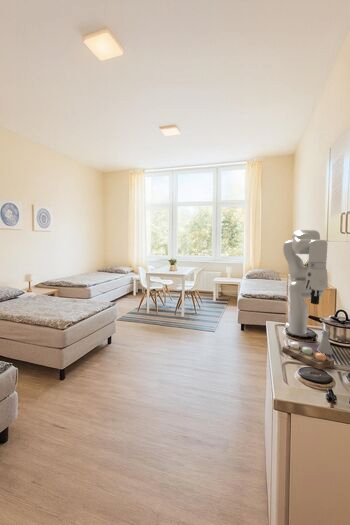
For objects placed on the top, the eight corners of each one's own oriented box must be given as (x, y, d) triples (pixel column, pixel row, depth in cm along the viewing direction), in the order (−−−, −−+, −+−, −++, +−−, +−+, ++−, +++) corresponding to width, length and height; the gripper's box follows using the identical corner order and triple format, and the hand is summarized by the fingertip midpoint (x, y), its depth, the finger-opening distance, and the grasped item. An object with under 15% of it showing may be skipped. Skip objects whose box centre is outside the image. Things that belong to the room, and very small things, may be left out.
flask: (335, 356, 127) (336, 336, 127) (319, 354, 129) (320, 334, 128) (329, 350, 135) (331, 331, 134) (314, 348, 136) (315, 329, 135)
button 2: (300, 354, 126) (300, 347, 126) (306, 352, 127) (306, 346, 127) (307, 357, 122) (307, 350, 122) (313, 356, 124) (313, 349, 124)
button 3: (313, 360, 119) (313, 353, 119) (319, 358, 121) (319, 352, 121) (321, 364, 116) (321, 357, 116) (327, 362, 118) (327, 355, 117)
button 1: (288, 348, 132) (288, 342, 132) (294, 347, 134) (294, 341, 134) (294, 351, 129) (295, 345, 128) (300, 350, 130) (301, 344, 130)
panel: (282, 351, 132) (282, 346, 132) (296, 348, 136) (296, 343, 136) (318, 369, 114) (318, 363, 114) (333, 365, 118) (334, 359, 118)
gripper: (313, 267, 119) (310, 307, 121) (335, 266, 125) (332, 304, 127) (299, 265, 126) (297, 303, 127) (320, 264, 132) (318, 300, 134)
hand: (314, 303), depth 127 cm, fingers closed
